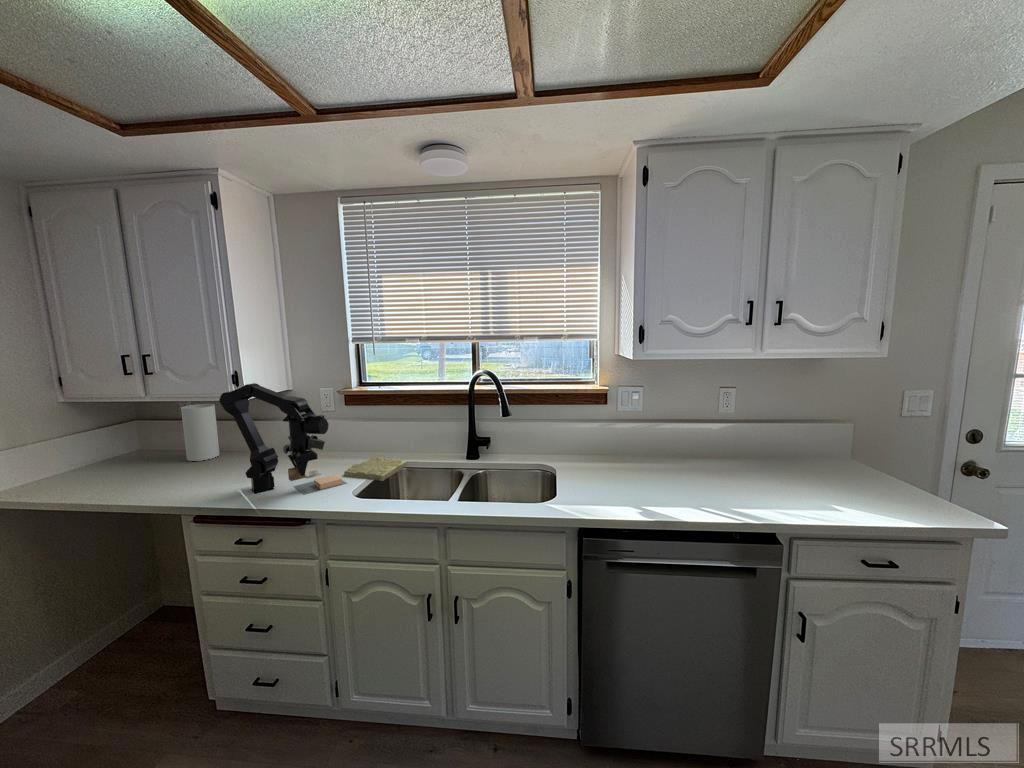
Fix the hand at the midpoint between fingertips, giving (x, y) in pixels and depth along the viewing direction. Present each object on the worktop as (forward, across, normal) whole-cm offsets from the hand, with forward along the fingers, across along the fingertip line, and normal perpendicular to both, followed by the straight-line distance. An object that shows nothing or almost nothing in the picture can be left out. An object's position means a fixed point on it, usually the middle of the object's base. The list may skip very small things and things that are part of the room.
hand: (301, 474), depth 151 cm
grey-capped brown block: (+1, 0, -1) cm, 1 cm away
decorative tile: (+8, +3, -30) cm, 31 cm away
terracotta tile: (+5, 0, -5) cm, 7 cm away
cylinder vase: (+7, +80, +19) cm, 82 cm away
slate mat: (+7, +2, -7) cm, 10 cm away
